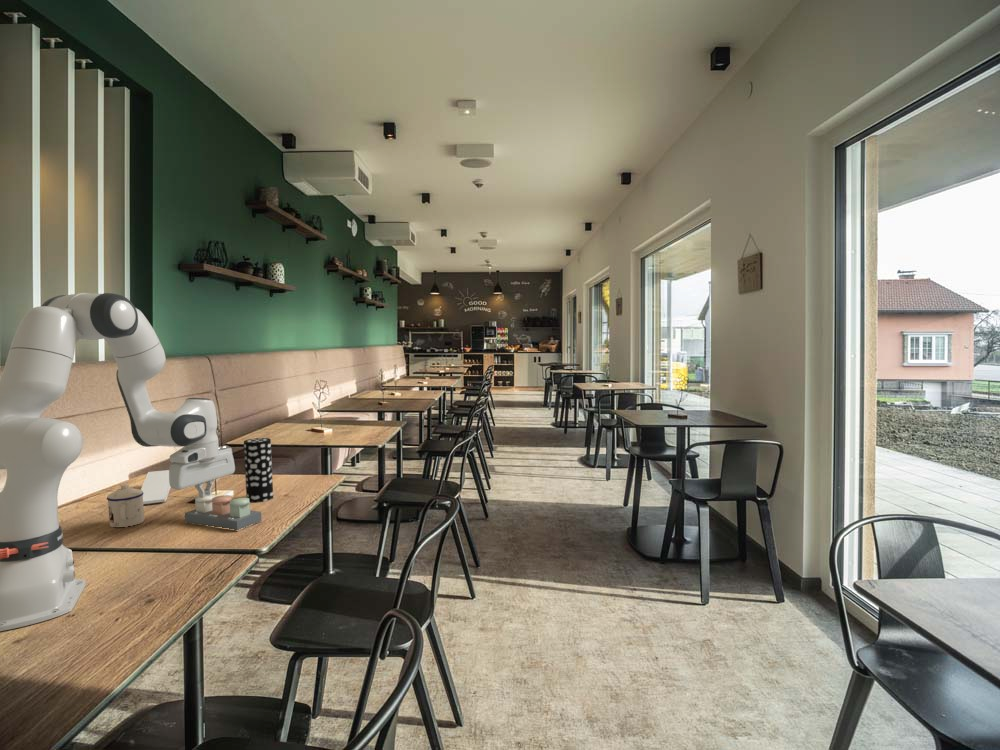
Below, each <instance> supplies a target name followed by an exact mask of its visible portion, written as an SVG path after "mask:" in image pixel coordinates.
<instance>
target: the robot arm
mask: <svg viewBox="0 0 1000 750" xmlns="http://www.w3.org/2000/svg"><path fill="white" fill-rule="evenodd" d="M103 339H104V340H105V341H106V343H107V345H108V348H109V350H110V352H111V354H112V356H113V359H114V360H115V364H116V366H117V370H116V381H117V385H118V388H119V389H118V390H119V392H120V395H121V397H122V400H123V403H124V405H125V409H126V412H127V414H128V417H129V421H130V428H131V435H132V437H133V439H134V440H135V442H136V443H137V444H138V445H140V446H142V447H145V448H146V447H149V448H151V447H177V448H180V447H181V448H180V449H178V450H177V451H175V452H173V453H172V454H170V455H169V461H170V462H171V464H170V466H169V468H168V470H169V484H170V487H171V489H173V490H184V489H187V488H191V487H194V488H195V489H196V490H197V492H198V496H199V497H202V498H203V497H206V496H209V495H211V494H212V489H213V487H214V485H215V480H217V479H220V478H224V477H226V476H231V475H233V474H234V473H235V471H236V465H235V459H234V455H233V449H232V447H231V446H229V445H228V444H227V445H222V446H219V436H218V434H217V429H218V416H217V409H216V406H215V402H214V401H213V400H212V399H210V398H205V397H204V398H203V397H188V398H185V400H184V402H183V404H182V405H181V406H180V407H179V408H177V409H176V410H175V411H173V412H165V411H164V412H162V411H159V410H157V409H155V408H154V406H153V405H152V402H151V398H150V396H149V395H150V394H149V393H148V389H147V387H146V383H147V381H149V380H151V379H153V378H154V377H156V376H157V375H158V374H159V373H160V372H161V371H162V370H163V369H164V367H165V365H166V360H167V358H166V353H165V350H164V348H163V345H162V343H161V341H160V339H159V337H158V335H157V333H156V330H155V329H154V327H153V326H152V325H151V323H150V322H149V320H148V319H147V317H146V316H145V315H144V313H143V312H142V310H140V309H138V308H137V307H136V306H135V305H134V304H133V303H132V301H131V300H129V299H128V297H125V295H121V294H118V293H114V292H113V293H111V292H104V293H90V292H80V293H73V294H72V293H71V294H67V295H66V294H65V295H64V294H63V295H62V294H61V295H58V296H54V297H51V298H49V299H47V300H46V301H45V302H43V304H41V306H35V307H32V308H30V309H29V310H27V311H26V313H24V316H23V317H22V319H21V320H20V322H19V324H18V326H17V328H16V330H15V334H14V335H13V338H12V341H11V344H10V347H9V350H8V354H7V357H6V360H5V364H4V368H3V371H2V373H1V376H0V470H6V480H5V484H4V486H3V489H2V490H1V491H0V632H2V631H9V630H13V629H14V630H15V629H17V628H23V627H26V626H31V625H34V624H35V625H36V624H37V623H41V622H46V621H48V620H51V619H54V618H57V617H60V616H63V615H65V614H67V613H69V612H71V611H72V610H73V609H74V607H75V605H76V604H77V602H78V601H79V598H80V597H81V596H80V595H82V592H83V590H84V589H85V587H86V585H87V583H86V582H87V581H86V579H84V578H76V571H75V569H74V568H75V567H74V565H75V560H74V559H73V551H72V549H70V548H68V547H66V546H65V545H64V544H63V541H64V540H63V539H64V537H63V536H64V534H63V533H64V532H63V530H62V526H61V525H59V524H60V523H59V509H58V508H59V507H58V506H59V505H58V504H59V503H58V494H59V487H60V484H61V480H62V478H63V475H64V474H65V471H66V470H67V468H68V467H69V466H70V465H71V464H73V463H74V462H75V461H76V460H77V459H78V458H79V457H80V454H81V452H82V451H83V447H84V446H83V445H84V438H83V435H82V432H81V430H80V429H79V428H78V426H76V425H75V424H74V423H71V422H68V421H65V420H61V419H56V418H52V417H41V416H42V414H43V413H44V411H45V410H47V408H49V406H51V404H52V403H55V402H56V401H58V400H59V399H60V398H61V397H62V396H63V395H64V394H65V392H66V390H67V384H68V381H69V377H70V374H71V370H72V369H71V368H72V366H73V360H74V356H75V351H76V346H77V345H76V344H77V343H78V342H79V340H87V341H92V340H93V341H94V340H95V341H96V340H103ZM204 484H206V485H205V488H204Z"/></svg>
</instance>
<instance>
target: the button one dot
mask: <svg viewBox="0 0 1000 750" xmlns="http://www.w3.org/2000/svg"><path fill="white" fill-rule="evenodd" d="M214 497H216V495H215V494H213V493H211V495H209V496H206V497H203V498H202V497H199V495H196V496H195V497H194V499H195V502H194V503H195V505H194V506H195V509H196V511H197V512H203V513H205V512H208V511H211V510H212V498H214Z"/></svg>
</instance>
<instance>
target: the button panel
mask: <svg viewBox="0 0 1000 750" xmlns="http://www.w3.org/2000/svg"><path fill="white" fill-rule="evenodd" d="M260 521H262V511H258V510H252V509H250V515H247V516H244V517H242V518H235V517H230V513H227V514H225V515H216V514H213V510H211V511H208V512H205V513H203V512H197V511H196V508H195V509H192V510H188V511H186V512H184V523H185V522H187V523H186V524H190V523H194V524H193V525H196V524H201V525H200V526H202V525H208V526H214V527H222V528H229V529H234V530H239V529H241V528H244V527H246V526H249V525H251V524H254V523H257V522H260ZM260 523H261V522H260ZM257 524H258V523H257Z"/></svg>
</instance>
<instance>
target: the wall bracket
mask: <svg viewBox="0 0 1000 750" xmlns="http://www.w3.org/2000/svg"><path fill="white" fill-rule="evenodd" d="M145 476H146V477H145V479H144V481H143V484H142V486H141V488H140V490H142V491H143V505H149V504H156V503H157V504H158V503H164V502H167V499H168V496H169V494H170V491H171V489H172V488H171V487H170V484H169V469H166V470H156V471H148V472H147V474H146V475H145Z"/></svg>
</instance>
